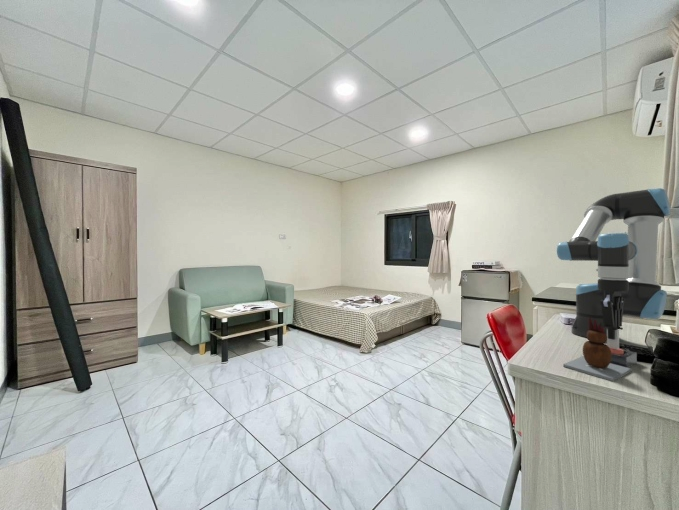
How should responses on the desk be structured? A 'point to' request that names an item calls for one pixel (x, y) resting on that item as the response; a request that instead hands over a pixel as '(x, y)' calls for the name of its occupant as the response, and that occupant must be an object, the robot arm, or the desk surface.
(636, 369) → the desk surface
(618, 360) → the button housing
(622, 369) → the slate board
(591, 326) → the wooden figurine
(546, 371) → the desk surface
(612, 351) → the button
